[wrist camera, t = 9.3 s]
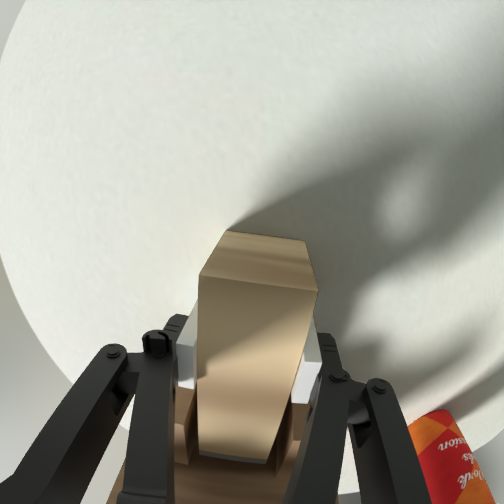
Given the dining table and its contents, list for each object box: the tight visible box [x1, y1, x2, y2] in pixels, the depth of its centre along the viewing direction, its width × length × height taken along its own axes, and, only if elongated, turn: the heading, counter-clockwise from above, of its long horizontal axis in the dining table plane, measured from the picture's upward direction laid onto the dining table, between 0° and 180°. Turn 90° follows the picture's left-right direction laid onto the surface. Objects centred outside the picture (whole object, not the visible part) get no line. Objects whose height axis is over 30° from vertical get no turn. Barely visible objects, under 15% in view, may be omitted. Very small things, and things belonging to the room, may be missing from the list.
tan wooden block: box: [197, 231, 318, 464], centre depth 16 cm, size 14×4×6 cm, turn 174°
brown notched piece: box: [106, 381, 339, 504], centre depth 14 cm, size 9×16×16 cm, turn 84°
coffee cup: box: [408, 410, 499, 504], centre depth 15 cm, size 8×8×15 cm
